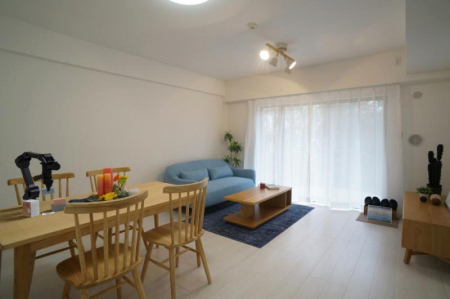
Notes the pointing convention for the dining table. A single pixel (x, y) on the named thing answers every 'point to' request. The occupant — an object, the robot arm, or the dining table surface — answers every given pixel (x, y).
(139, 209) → the dining table surface
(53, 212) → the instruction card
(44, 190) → the slate brick
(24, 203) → the small box
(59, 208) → the charcoal base brick
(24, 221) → the dining table surface
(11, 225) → the dining table surface
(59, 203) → the terracotta brick
